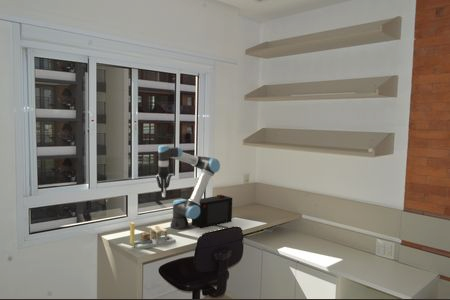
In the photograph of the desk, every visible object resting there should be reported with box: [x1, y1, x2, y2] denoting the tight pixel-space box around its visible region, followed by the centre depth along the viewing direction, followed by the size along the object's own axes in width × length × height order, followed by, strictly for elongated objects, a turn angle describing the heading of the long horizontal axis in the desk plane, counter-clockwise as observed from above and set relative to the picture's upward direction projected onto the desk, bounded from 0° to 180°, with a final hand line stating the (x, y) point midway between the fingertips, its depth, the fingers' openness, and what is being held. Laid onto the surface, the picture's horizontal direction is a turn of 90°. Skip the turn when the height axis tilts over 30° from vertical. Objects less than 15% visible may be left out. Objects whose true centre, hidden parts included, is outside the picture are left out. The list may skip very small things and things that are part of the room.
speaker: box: [191, 194, 233, 229], centre depth 301 cm, size 15×35×24 cm, turn 132°
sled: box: [129, 221, 153, 246], centre depth 241 cm, size 14×7×15 cm, turn 125°
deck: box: [132, 234, 176, 251], centre depth 247 cm, size 29×12×2 cm, turn 125°
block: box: [140, 231, 150, 241], centre depth 243 cm, size 5×5×5 cm
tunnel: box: [149, 225, 168, 243], centre depth 249 cm, size 8×12×8 cm, turn 35°
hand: (163, 196), depth 259 cm, fingers closed
